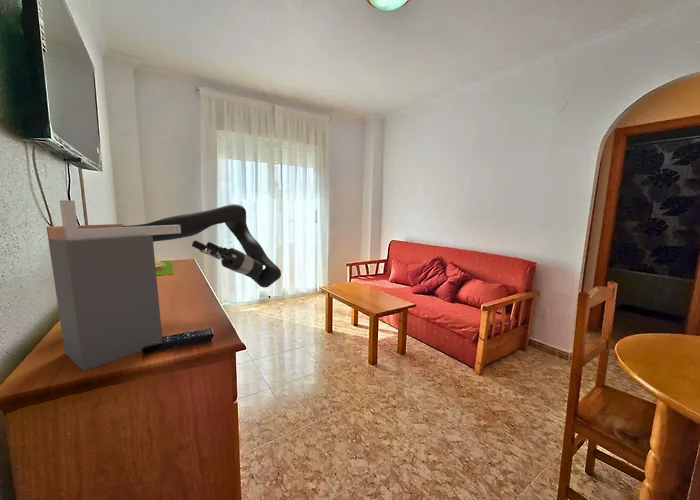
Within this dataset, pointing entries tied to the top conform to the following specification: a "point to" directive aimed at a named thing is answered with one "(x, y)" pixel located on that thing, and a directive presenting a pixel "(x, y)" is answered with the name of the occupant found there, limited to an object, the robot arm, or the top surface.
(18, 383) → the top surface
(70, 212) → the aluminium bracket
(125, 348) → the charcoal stand
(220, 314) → the top surface
